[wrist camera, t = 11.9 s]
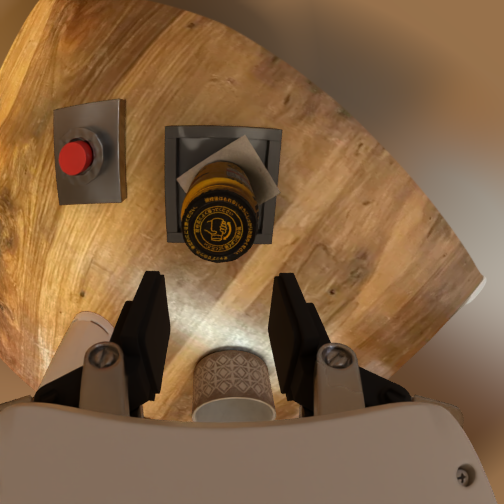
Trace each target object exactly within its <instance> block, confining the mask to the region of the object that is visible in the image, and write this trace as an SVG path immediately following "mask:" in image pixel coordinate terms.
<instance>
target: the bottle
mask: <svg viewBox="0 0 504 504" xmlns="http://www.w3.org/2000/svg"><path fill="white" fill-rule="evenodd" d="M90 321H93V322H95V323H97V324H99V325H100V326H101V327H103V328H104V329H105V330H106V331H107V332H108V334H107V333H106V332H105V331H104V330H103V329H102V328H101V327H99V326H98V325H96V324H94V323H92V322H90ZM113 330H114V328H113V326H112V325H111V324H110V323H109V322H108V321H107V320H106V319H105V318H103V317H102V316H100V315H98V314H96V313H93V312H88V311H87V312H80V313H79V314H77V315H76V316H75V318H74V319H73V321H72V323H71V325H70V327H69V328H68V330H67V332H66V334H65V336H64V337H63V339H62V341H61V343H60V345H59V347H58V349H57V351H56V353H55V355H54V357H53V359H52V361H51V363H50V365H49V367H48V369H47V371H46V373H45V375H44V377H43V380H42V382H41V384H40V386H39V388H40V387H42V386H43V385H45V384H47V383H49V382H51V381H53V380H55V379H57V378H59V377H61V376H63V375H65V374H67V373H69V372H71V371H73V370H75V369H77V368H79V367H81V366H83V362H84V356H85V353H86V351H87V350H88V349H89V348H90V347H91V346H92V345H94V344H96V343H99V342H104V341H108V342H109V341H110V338H111V336H112V333H113ZM39 388H38V389H39Z"/></svg>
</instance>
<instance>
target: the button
mask: <svg viewBox="0 0 504 504" xmlns="http://www.w3.org/2000/svg"><path fill="white" fill-rule="evenodd" d="M91 162H92V150H91V148H90V146H89V145H88V144H87V143H86V142H84V141H81V140H79V141H74V142H70V143H67V144H66V145H65V146H64V147H63V148H62V149H61V151H60V154H59V164H60V167H61V169H62V170H63V171H64V172H65V173H66V174H68V175H76V174H79V173H81V172H83V171H85V170H86V169H87V168H88V167H89V166H90V164H91Z"/></svg>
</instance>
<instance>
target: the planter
mask: <svg viewBox="0 0 504 504" xmlns="http://www.w3.org/2000/svg"><path fill="white" fill-rule="evenodd" d="M275 418H276V411H275V406H274V400H273V395H272V390H271V384H270V379H269V373H268V368H267V366H266V364H265V363H264V362H263V361H262V360H261V359H260V358H259V357H257V356H256V355H253V354H251V353H248V352H244V351H237V350H227V351H220V352H216V353H213V354H210V355H208V356H206V357H205V358H203V359H202V360H201V361H200V362H199V363H198V364H197V366H196V368H195V371H194V384H193V405H192V420H193V422H215V423H223V422H257V421H273V420H275Z"/></svg>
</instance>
